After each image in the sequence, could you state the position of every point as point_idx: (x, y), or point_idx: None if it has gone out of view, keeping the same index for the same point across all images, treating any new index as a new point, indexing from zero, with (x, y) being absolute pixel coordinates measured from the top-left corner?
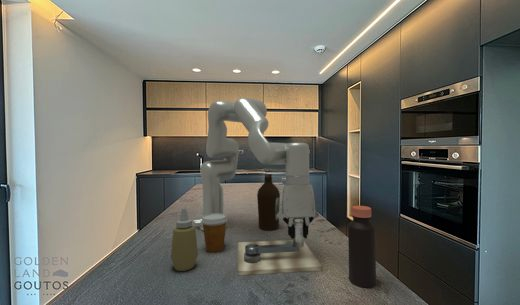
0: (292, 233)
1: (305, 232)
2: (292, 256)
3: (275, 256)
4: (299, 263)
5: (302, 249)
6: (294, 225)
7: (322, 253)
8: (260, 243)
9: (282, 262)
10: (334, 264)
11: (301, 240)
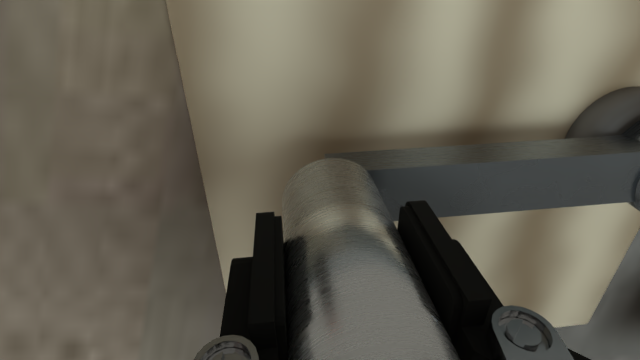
0: (439, 235)
1: (273, 253)
2: None
3: None
4: (336, 57)
5: None
6: (443, 331)
7: (139, 231)
8: None
9: (448, 83)
10: (66, 78)
11: (318, 193)
